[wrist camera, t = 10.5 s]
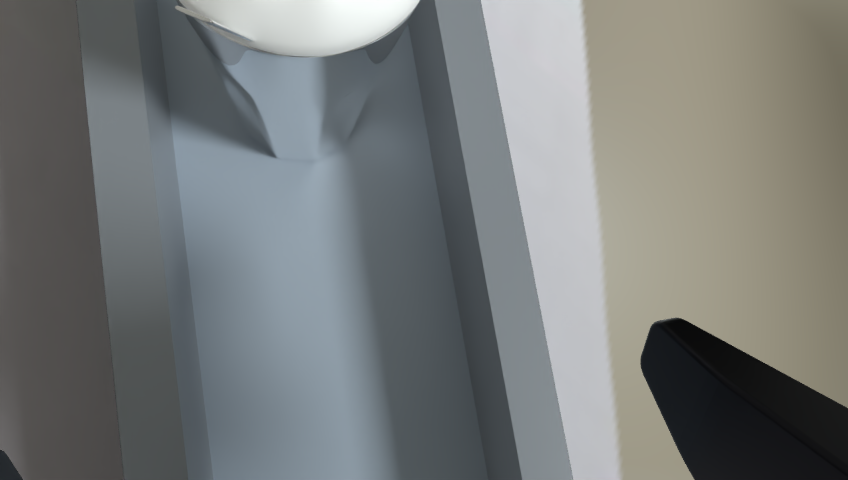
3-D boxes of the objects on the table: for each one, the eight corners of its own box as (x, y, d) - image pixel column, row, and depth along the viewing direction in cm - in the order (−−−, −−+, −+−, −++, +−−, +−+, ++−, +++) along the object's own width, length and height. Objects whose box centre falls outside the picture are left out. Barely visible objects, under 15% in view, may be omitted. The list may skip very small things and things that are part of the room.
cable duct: (531, 542, 17) (596, 599, 14) (188, 632, 15) (149, 730, 12) (406, -144, 20) (430, -258, 16) (102, -143, 18) (48, -273, 14)
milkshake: (175, 174, 16) (-16, -73, 7) (255, 7, 17) (193, -413, 8) (335, 237, 17) (378, 95, 7) (402, 71, 18) (518, -246, 8)
